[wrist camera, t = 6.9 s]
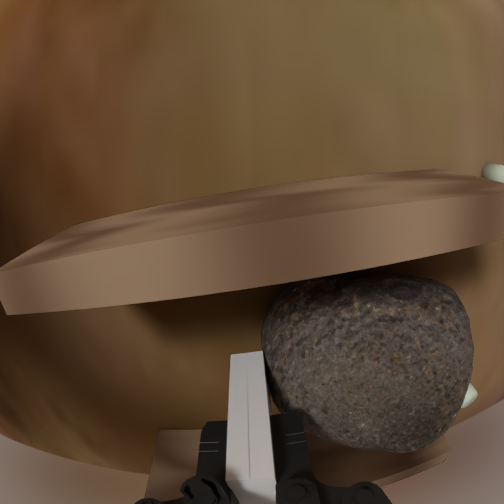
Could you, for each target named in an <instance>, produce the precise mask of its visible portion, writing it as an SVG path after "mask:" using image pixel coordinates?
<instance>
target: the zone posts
mask: <svg viewBox="0 0 504 504" xmlns="http://www.w3.org/2000/svg"><path fill="white" fill-rule="evenodd" d="M481 178H485V179H489V180H494V181H498V182H502V183H504V165H499V164H493V163H487V164H486V165H485V166H484V167H483V170H482V174H481ZM477 395H478V392H477V391H476V390H475V388H474V387H473V386H472V385H471V383H469V387H468V390H467V393H466V395H465V399H464V402H463V405H462V406H461V407H462V408H465V407H467V406H469V405H470V404H471V403H472V402H473V401H474V400H475V399H476V397H477Z"/></svg>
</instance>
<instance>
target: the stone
mask: <svg viewBox="0 0 504 504" xmlns="http://www.w3.org/2000/svg"><path fill="white" fill-rule="evenodd" d="M261 345H262V351H263V356H264V363H265V370H266V377H267V381H268V385H269V388H270V391H271V394H272V398H273V401H274V403H275V405H276V406H277V408H278V410H279V411H280V412H281V414H285V413H291V412H296V414H297V415H298V416H299V417H300V418H301V420H302V421H303V426H304V431H305V432H308V433H311V434H313V435H315V436H316V437H318V438H320V439H322V440H326V441H331V442H334V443H337V444H341V445H344V446H348V447H353V448H358V449H365V450H373V451H382V452H392V453H398V454H400V453H406V452H411V451H416V450H419V449H421V448H424V447H425V446H427V445H429V444H431V443H432V442H434V441H435V440H437V439H438V438H439V437H441V436H442V435H443V434H444V433H445V432H446V431H447V429H448V428H449V427H450V425H451V423H452V422H453V420H454V419H455V417H456V415H457V414H458V412H459V410H460V408H461V406H462V405H463V402H464V399H465V395H466V393H467V390H468V387H469V383H470V380H471V375H472V369H473V366H472V363H473V353H474V346H473V341H472V335H471V329H470V320H469V317H468V315H467V313H466V310H465V308H464V306H463V304H462V303H461V301H460V299H459V297H458V296H457V294H456V293H455V292H454V290H453V289H452V288H450V287H448V286H446V285H444V284H442V283H439V282H437V281H435V280H432V279H425V278H416V277H409V276H401V275H386V274H377V275H373V276H369V277H364V278H359V279H354V280H343V279H306V280H302V281H298V282H294V283H291V284H290V285H288V286H287V287H286V288H285V289H284V290H283V291H282V292H281V293H280V294H279V295H278V296H277V297H276V298H275V300H274V301H273V302H272V304H271V306H270V308H269V310H268V312H267V314H266V317H265V319H264V321H263V327H262V332H261Z"/></svg>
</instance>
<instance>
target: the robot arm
mask: <svg viewBox="0 0 504 504" xmlns="http://www.w3.org/2000/svg"><path fill="white" fill-rule="evenodd" d="M180 491H181V493H182V494H183V495H184V497H181V498H178V499H173V500H169V501H163V502H161V501H159V500H157V499H154V498H144V499H141V500H139V501H137V502H136V503H135V504H392V503H391V501H390V500H389V499H388V497H387V496H386V495H385V493H384V492H383V491H382V489H381V488H380V487H379V486H378V485H377V484H374V483H371V482H359V483H356V484H353V485H352V486H350V487H332V486H327V485H324V484H322V483H320V482H319V481H318V480H317V479H316V478H315V477H314V474H313V472H312V467H311V461H310V456H309V451H308V446H307V442H306V436H305V431H304V426H303V421H302V420H301V418H300V417H299V416H298V415H297V414H296V412H291V413H285V414H278V415H272V411H271V402H270V392H269V386H268V381H267V377H266V370H265V363H264V356H263V351H257V352H250V353H241V354H233V355H231V360H230V380H229V402H228V420H226V421H209V422H207V423H206V424H205V426H204V427H203V429H202V431H201V436H200V444H199V453H198V462H197V471H196V476H193V477H191V478H189V479H187V480H186V481H185V482H184V483H183V484H182V486H181V488H180Z"/></svg>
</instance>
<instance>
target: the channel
mask: <svg viewBox="0 0 504 504" xmlns="http://www.w3.org/2000/svg"><path fill="white" fill-rule="evenodd" d="M503 239H504V183H502V182H498V181H494V180H489V179H485V178H481V177H476V176H471V175H467V174H462V173H457V172H451V171H446V170H422V171H406V172H392V173H379V174H368V175H357V176H347V177H338V178H329V179H320V180H312V181H304V182H296V183H289V184H281V185H274V186H267V187H261V188H254V189H248V190H241V191H235V192H229V193H223V194H217V195H212V196H206V197H201V198H195V199H190V200H185V201H179V202H174V203H169V204H164V205H159V206H155V207H150V208H145V209H141V210H136V211H132V212H127V213H123V214H118V215H114V216H110V217H106V218H101V219H97V220H93V221H89V222H85V223H81V224H77V225H74V226H71V227H69V228H67V229H66V230H64V231H62V232H60V233H58V234H56V235H54V236H53V237H51V238H49V239H47V240H45V241H44V242H42V243H40V244H38V245H37V246H35V247H33V248H31V249H30V250H28V251H26V252H25V253H23V254H21V255H20V256H18V257H16V258H15V259H13V260H12V261H10V262H8V263H7V264H5V265H4V266H2V267H0V300H1V303H2V305H3V307H4V310H5V312H6V314H7V315H16V314H30V313H43V312H56V311H67V310H78V309H89V308H99V307H108V306H118V305H127V304H136V303H144V302H153V301H161V300H169V299H177V298H185V297H192V296H200V295H207V294H215V293H222V292H229V291H236V290H242V289H249V288H256V287H262V286H269V285H275V284H281V283H287V282H294V281H300V280H306V279H311V278H317V277H323V276H329V275H335V274H340V273H346V272H351V271H357V270H362V269H367V268H373V267H378V266H383V265H388V264H393V263H398V262H403V261H408V260H413V259H418V258H423V257H428V256H432V255H437V254H442V253H446V252H451V251H455V250H460V249H464V248H469V247H473V246H477V245H482V244H486V243H490V242H494V241H499V240H503ZM201 431H202V429H193V430H159V435H158V439H157V443H156V447H155V452H154V456H153V460H152V465H151V469H150V474H149V478H148V483H147V488H146V493H145V497H144V498H154V499H157V500H159V501H161V502H163V501H169V500H173V499H178V498H181V497H184V495H183V494H182V493H181V491H180V488H181V486H182V484H183V483H184V482H185V481H186V480H187V479H189V478H191V477H193V476H196V471H197V462H198V453H199V444H200V436H201ZM305 436H306V442H307V446H308V451H309V456H310V461H311V467H312V472H313V474H314V477H315V478H316V479H317V480H318V481H319V482H320V483H322V484H324V485H327V486H332V487H350V486H352V485H353V484H356V483H359V482H371V483H374V484H377V485H378V486H379V487H382V486H385V485H388V484H391V483H394V482H397V481H399V480H402V479H404V478H407V477H410V476H412V475H414V474H417V473H419V472H422V471H424V470H426V469H429V468H431V467H433V466H435V465H437V464H440V463H442V462H444V461H445V459H446V458H447V457H448V455H449V453H450V451H451V450H452V449H451V447H450V446H449V444H448V442H447V440H446V438H445V437H444V435H442V436H441V437H439V438H438V439H437V440H435V441H434V442H432V443H431V444H429V445H427V446H425V447H424V448H421V449H419V450H416V451H411V452H406V453H400V454H398V453H392V452H382V451H373V450H365V449H358V448H353V447H348V446H344V445H341V444H337V443H334V442H331V441H326V440H322V439H320V438H318V437H316V436H315V435H313V434H311V433H308V432H305Z"/></svg>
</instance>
